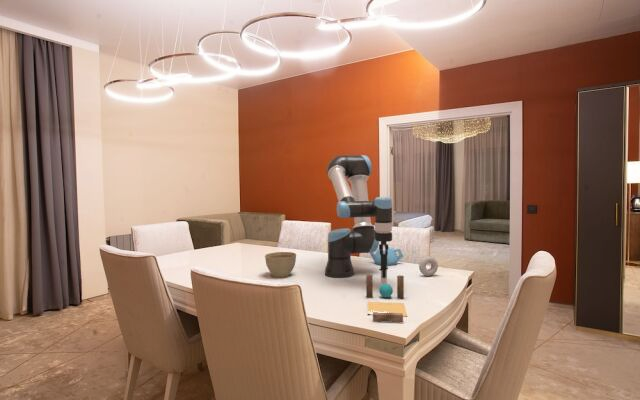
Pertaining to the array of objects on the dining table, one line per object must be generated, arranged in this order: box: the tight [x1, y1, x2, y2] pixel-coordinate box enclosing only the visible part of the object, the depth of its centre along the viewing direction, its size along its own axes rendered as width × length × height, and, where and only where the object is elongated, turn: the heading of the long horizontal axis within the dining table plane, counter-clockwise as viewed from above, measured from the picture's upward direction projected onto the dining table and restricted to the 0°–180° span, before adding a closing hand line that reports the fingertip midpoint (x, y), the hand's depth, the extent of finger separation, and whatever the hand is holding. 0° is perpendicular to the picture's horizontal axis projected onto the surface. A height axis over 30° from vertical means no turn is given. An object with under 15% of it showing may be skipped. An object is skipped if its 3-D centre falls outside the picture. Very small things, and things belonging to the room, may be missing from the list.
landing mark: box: [366, 301, 408, 317], centre depth 137 cm, size 14×14×1 cm
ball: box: [378, 283, 394, 298], centre depth 152 cm, size 6×6×6 cm
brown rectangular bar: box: [372, 312, 404, 323], centre depth 125 cm, size 10×2×2 cm, turn 82°
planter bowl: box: [264, 251, 297, 278], centre depth 190 cm, size 16×16×11 cm
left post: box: [365, 274, 374, 299], centre depth 152 cm, size 3×3×9 cm
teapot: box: [369, 246, 404, 267], centre depth 214 cm, size 15×15×11 cm
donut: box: [418, 255, 439, 277], centre depth 184 cm, size 10×3×10 cm, turn 102°
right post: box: [396, 274, 405, 300], centre depth 150 cm, size 3×3×9 cm
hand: (383, 284), depth 164 cm, fingers closed
